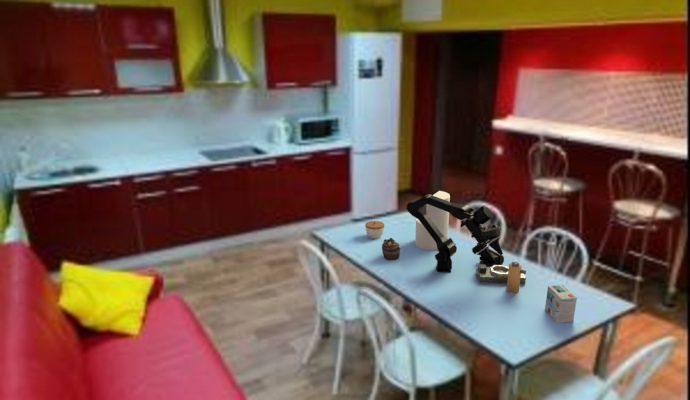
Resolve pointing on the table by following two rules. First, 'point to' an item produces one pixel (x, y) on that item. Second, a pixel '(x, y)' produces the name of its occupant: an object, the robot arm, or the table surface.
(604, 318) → the table surface
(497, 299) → the table surface
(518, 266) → the tan bottle
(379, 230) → the lidded jar
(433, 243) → the cylinder
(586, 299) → the table surface
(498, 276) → the motor base
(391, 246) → the cupcake
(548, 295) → the light bulb box
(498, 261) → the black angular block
